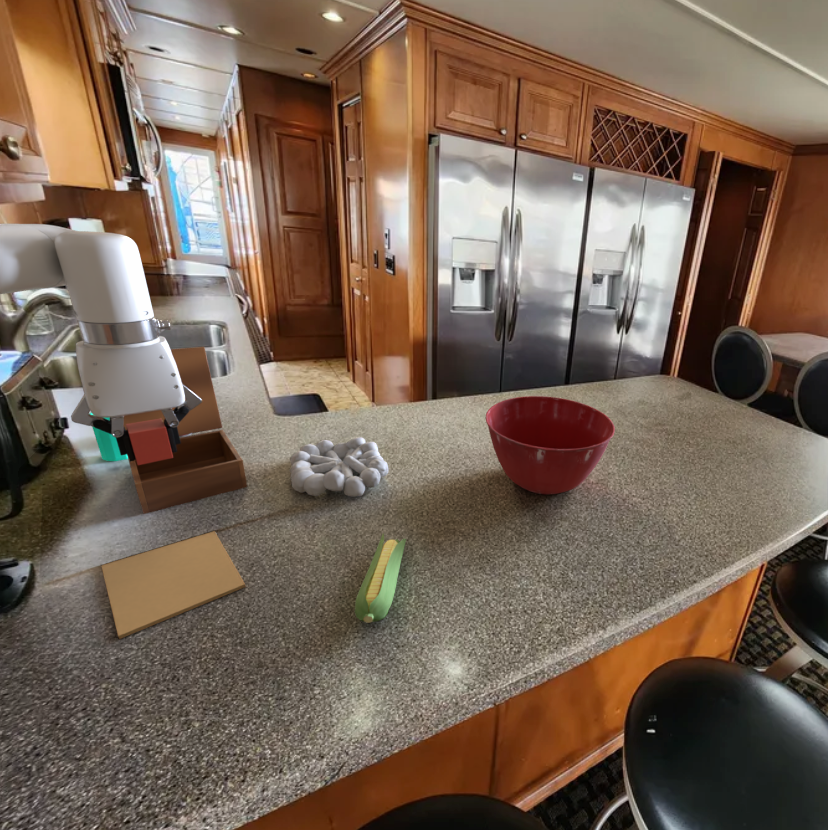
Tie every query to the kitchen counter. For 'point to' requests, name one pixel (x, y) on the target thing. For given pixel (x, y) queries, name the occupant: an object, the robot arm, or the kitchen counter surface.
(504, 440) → the mixing bowl
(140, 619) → the mat
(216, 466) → the open wooden box
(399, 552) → the edible corn
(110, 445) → the candle
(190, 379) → the lid
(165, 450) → the block
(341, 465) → the campfire
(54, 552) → the kitchen counter surface
